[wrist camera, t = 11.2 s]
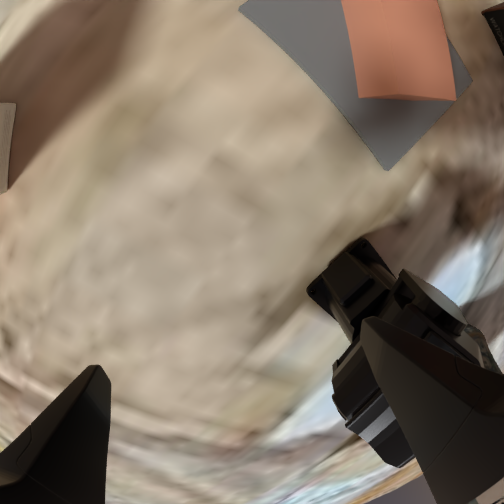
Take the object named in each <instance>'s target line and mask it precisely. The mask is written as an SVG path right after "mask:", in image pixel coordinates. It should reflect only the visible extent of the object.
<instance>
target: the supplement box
mask: <svg viewBox="0 0 504 504" xmlns="http://www.w3.org/2000/svg"><path fill="white" fill-rule="evenodd" d="M15 111H16V104H15V103H0V194H3V193H5V192H7V186H8V168H9V156H10V147H11V138H12V131H13V124H14V118H15Z"/></svg>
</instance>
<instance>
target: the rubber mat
mask: <svg viewBox="0 0 504 504" xmlns="http://www.w3.org/2000/svg"><path fill="white" fill-rule="evenodd" d="M238 10H239V11H240V12H241V13H242V14H243V15H245V16H246V17H247V18H248V19H250V20H251V21H252V22H253V23H254V24H255V25H257V26H258V27H259V28H260V29H261V30H262V31H263V32H264V33H266V34H267V35H268V36H269V37H270V38H271V39H272V40H273V41H274V42H275V43H276V44H278V45H279V46H280V47H281V48H282V49H283V50H284V51H285V52H286V53H287V54H288V55H289V56H290V57H291V58H292V59H293V60H294V61H295V62H296V63H297V64H298V65H299V66H300V67H301V68H302V69H303V70H304V71H305V72H306V73H307V74H308V75H309V77H310V78H311V79H312V80H313V81H314V82H315V83H316V84H317V85H318V86H319V87H320V89H321V90H322V91H323V92H324V93H325V94H326V95H327V96H328V98H329V99H330V100H331V101H332V102H333V103H334V105H335V106H336V107H337V108H338V109H339V110H340V112H341V113H342V114H343V115H344V117H345V118H346V119H347V120H348V122H349V123H350V124H351V125H352V127H353V128H354V129H355V130H356V132H357V133H358V134H359V136H360V137H361V138H362V140H363V141H364V142H365V144H366V145H367V146H368V148H369V149H370V150H371V152H372V153H373V154H374V156H375V157H376V159H377V160H378V161H379V163H380V164H381V166H382V167H383V169H384V170H386V171H389V170H390V169H391V168H392V167H393V166H394V165H395V164H396V163H397V162H398V161H399V160H400V159H401V158H402V157H403V156H404V155H405V154H406V153H407V152H408V151H409V150H410V149H411V147H412V146H413V145H414V144H415V143H416V142H417V141H418V140H419V139H420V138H421V137H422V136H423V135H424V134H425V133H426V132H427V131H428V130H429V129H430V128H431V126H432V125H433V124H434V123H435V122H436V121H437V120H438V119H439V118H440V117H441V116H442V115H443V114H444V113H445V111H446V110H447V109H448V108H449V107H450V106H451V105H452V104H453V103H454V102H455V101H438V100H423V101H411V100H397V99H375V98H359V96H358V89H357V81H356V74H355V68H354V62H353V56H352V50H351V45H350V39H349V34H348V29H347V25H346V20H345V15H344V11H343V7H342V3H341V0H248V1H247V2H245V3H244V4H243V5H241V6H240V7H239V9H238ZM446 38H447V36H446ZM447 42H448V47H449V52H450V58H451V63H452V70H453V77H454V84H455V92H456V99H457V98H458V97H459V96H460V95H461V94H462V93H463V92H464V91H465V89H466V88H467V87H468V86H469V85H470V84H471V83H472V82H473V80H472V78H471V76H470V74H469V73H468V71H467V69H466V67H465V65H464V64H463V62H462V60H461V58H460V57H459V55H458V53H457V52H456V50H455V48H454V47H453V45H452V44H451V42H450V41H449V39H448V38H447Z"/></svg>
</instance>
